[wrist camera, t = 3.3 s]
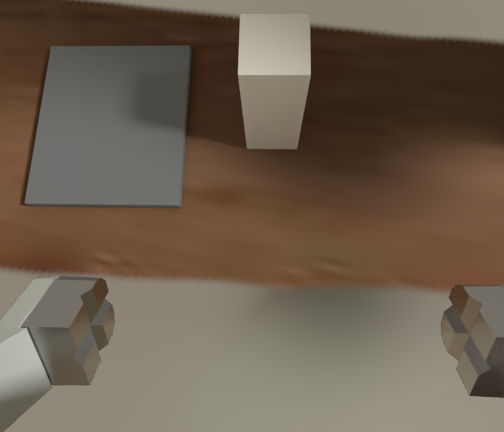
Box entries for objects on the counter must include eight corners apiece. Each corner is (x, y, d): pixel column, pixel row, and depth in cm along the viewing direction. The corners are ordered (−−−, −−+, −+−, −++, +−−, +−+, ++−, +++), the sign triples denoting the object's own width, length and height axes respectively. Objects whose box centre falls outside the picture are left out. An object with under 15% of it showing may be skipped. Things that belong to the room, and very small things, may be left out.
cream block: (296, 104, 32) (310, 13, 22) (297, 149, 31) (310, 74, 21) (248, 104, 32) (240, 13, 22) (247, 148, 31) (237, 74, 21)
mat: (191, 51, 33) (190, 45, 32) (181, 208, 30) (178, 205, 29) (56, 52, 34) (51, 46, 33) (30, 206, 30) (24, 203, 30)
